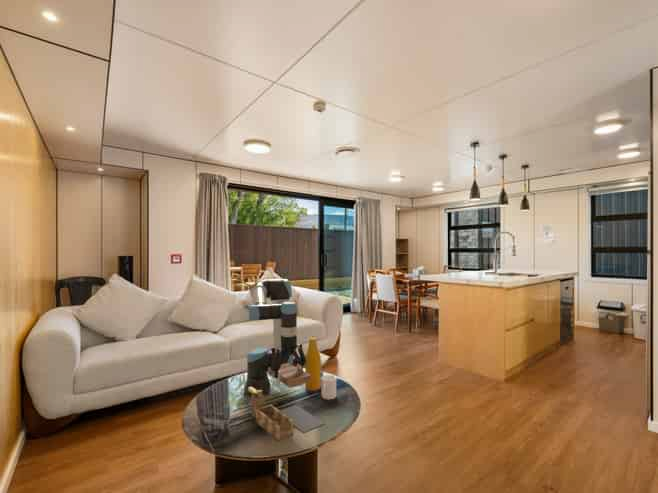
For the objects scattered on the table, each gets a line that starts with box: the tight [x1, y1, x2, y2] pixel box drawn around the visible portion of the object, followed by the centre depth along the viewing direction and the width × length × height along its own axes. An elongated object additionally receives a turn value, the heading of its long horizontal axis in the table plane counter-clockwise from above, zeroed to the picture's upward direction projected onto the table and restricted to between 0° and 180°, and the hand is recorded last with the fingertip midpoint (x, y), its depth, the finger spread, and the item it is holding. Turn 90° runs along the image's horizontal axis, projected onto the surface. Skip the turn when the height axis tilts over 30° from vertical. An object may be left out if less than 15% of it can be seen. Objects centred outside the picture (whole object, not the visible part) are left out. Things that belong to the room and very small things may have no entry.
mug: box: [320, 374, 337, 401], centre depth 176 cm, size 12×8×10 cm
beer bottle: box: [304, 337, 322, 392], centre depth 189 cm, size 9×9×29 cm
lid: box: [268, 363, 311, 389], centre depth 151 cm, size 21×11×4 cm, turn 38°
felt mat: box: [279, 404, 325, 434], centre depth 154 cm, size 24×12×1 cm, turn 39°
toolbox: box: [251, 390, 294, 442], centre depth 148 cm, size 28×8×11 cm, turn 39°
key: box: [248, 386, 262, 398], centre depth 160 cm, size 11×2×3 cm, turn 39°
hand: (288, 381), depth 151 cm, fingers closed on lid, 11 cm apart
